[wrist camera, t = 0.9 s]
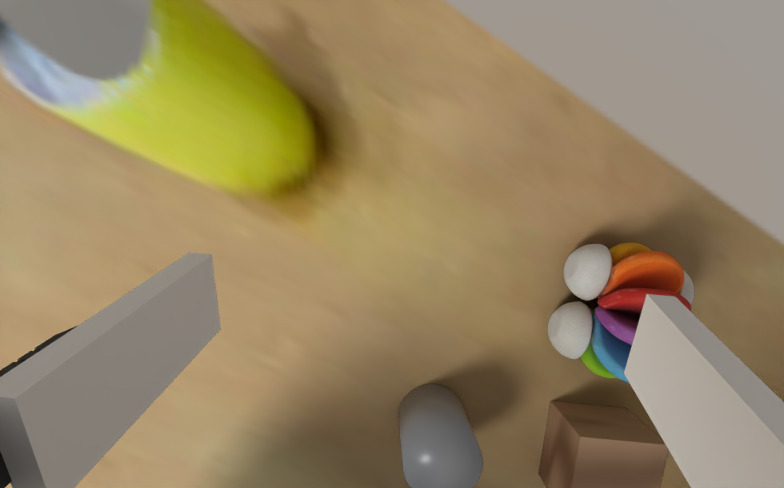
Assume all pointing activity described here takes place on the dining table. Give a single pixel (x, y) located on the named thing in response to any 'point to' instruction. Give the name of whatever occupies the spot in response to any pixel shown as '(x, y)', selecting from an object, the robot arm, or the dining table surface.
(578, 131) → the dining table surface
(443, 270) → the dining table surface
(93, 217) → the dining table surface
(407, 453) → the grey cylinder
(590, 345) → the rainbow cloud toy
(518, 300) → the dining table surface
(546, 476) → the walnut block
